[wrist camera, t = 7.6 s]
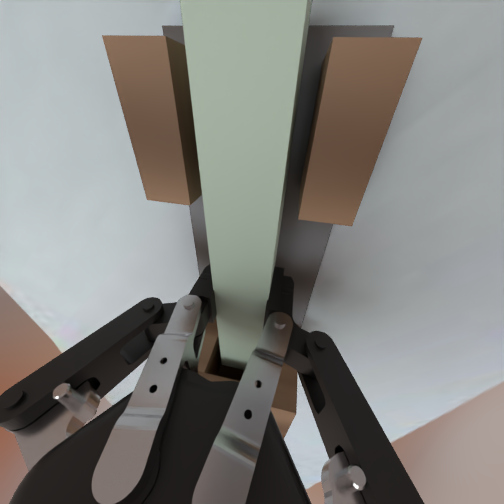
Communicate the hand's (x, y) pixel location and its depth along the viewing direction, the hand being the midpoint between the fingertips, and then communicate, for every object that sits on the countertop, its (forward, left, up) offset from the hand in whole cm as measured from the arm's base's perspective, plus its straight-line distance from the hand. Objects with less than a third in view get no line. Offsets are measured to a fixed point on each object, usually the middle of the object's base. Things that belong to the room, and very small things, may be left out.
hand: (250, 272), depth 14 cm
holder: (0, 0, -2) cm, 2 cm away
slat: (-2, 0, -1) cm, 3 cm away
